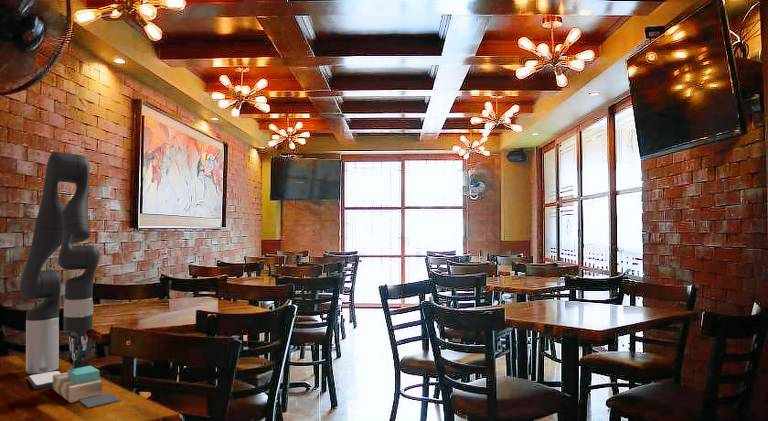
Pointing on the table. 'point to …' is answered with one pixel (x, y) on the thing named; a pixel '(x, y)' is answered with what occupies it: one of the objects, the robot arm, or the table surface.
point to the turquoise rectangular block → (83, 374)
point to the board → (75, 388)
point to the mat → (99, 400)
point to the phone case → (42, 380)
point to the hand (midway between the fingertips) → (77, 372)
